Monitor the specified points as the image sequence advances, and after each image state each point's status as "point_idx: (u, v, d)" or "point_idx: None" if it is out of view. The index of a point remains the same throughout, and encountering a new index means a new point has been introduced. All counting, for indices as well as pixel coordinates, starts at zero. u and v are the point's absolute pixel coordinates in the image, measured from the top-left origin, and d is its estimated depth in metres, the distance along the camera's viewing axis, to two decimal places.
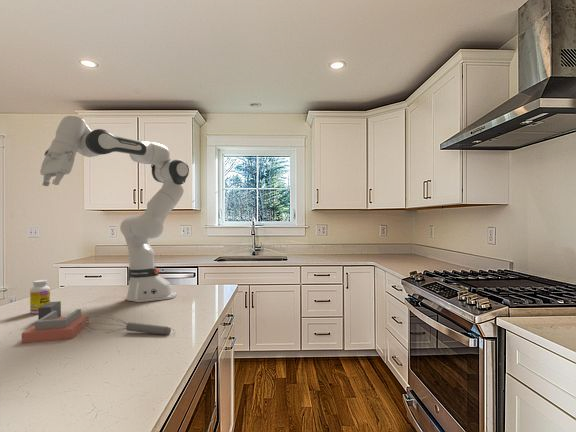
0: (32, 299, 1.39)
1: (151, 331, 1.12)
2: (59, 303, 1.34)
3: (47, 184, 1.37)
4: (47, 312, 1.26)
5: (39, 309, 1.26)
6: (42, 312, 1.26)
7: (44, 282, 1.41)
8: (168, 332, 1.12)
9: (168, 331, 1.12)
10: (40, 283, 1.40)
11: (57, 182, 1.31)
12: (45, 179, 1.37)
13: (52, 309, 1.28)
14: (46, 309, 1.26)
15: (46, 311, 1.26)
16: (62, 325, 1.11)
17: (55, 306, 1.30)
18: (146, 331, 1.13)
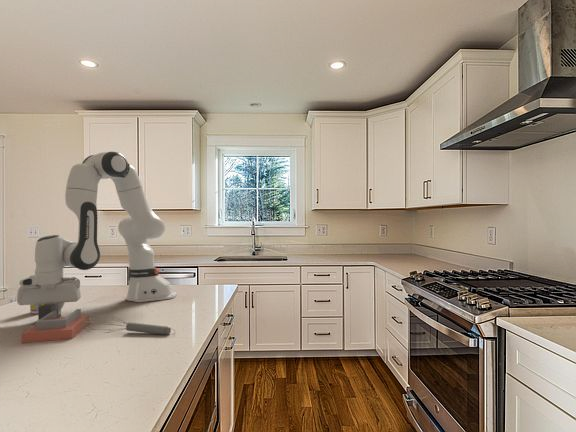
0: None
1: (151, 331, 1.12)
2: None
3: None
4: (47, 312, 1.26)
5: (39, 309, 1.26)
6: (42, 312, 1.26)
7: None
8: (168, 332, 1.12)
9: (168, 331, 1.12)
10: None
11: (60, 311, 1.31)
12: None
13: (52, 309, 1.28)
14: (46, 309, 1.26)
15: (46, 310, 1.26)
16: (62, 325, 1.11)
17: (55, 306, 1.30)
18: (146, 331, 1.12)
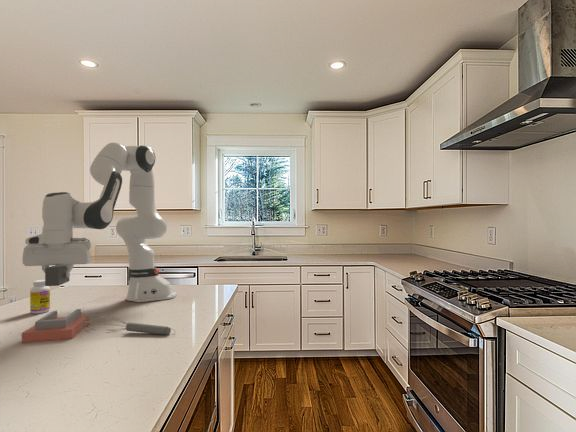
0: (32, 299, 1.39)
1: (151, 331, 1.12)
2: None
3: None
4: (55, 273, 1.16)
5: (46, 269, 1.15)
6: (49, 273, 1.15)
7: (44, 282, 1.41)
8: (168, 332, 1.12)
9: (168, 331, 1.12)
10: (40, 283, 1.40)
11: (69, 274, 1.21)
12: None
13: (60, 270, 1.17)
14: (53, 270, 1.16)
15: (54, 272, 1.16)
16: (62, 325, 1.11)
17: (63, 268, 1.20)
18: (146, 331, 1.12)
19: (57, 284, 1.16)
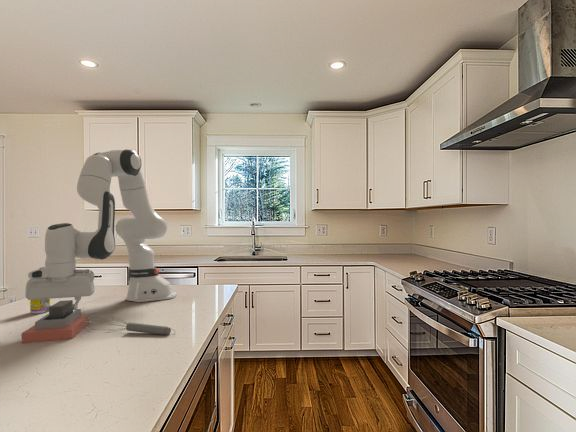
0: None
1: (151, 331, 1.12)
2: (71, 302, 1.23)
3: None
4: (59, 312, 1.15)
5: (50, 308, 1.14)
6: (53, 312, 1.14)
7: None
8: (168, 332, 1.12)
9: (168, 331, 1.12)
10: None
11: (77, 306, 1.20)
12: (45, 304, 1.17)
13: (64, 309, 1.16)
14: (57, 309, 1.15)
15: (58, 310, 1.15)
16: (62, 325, 1.11)
17: (67, 305, 1.19)
18: (146, 331, 1.12)
19: None
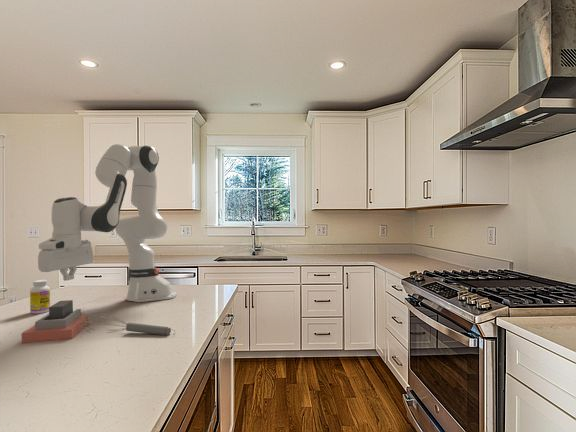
0: (32, 299, 1.39)
1: (151, 331, 1.12)
2: (71, 302, 1.23)
3: None
4: (59, 312, 1.15)
5: (50, 308, 1.14)
6: (53, 312, 1.14)
7: (44, 282, 1.41)
8: (168, 332, 1.12)
9: (168, 331, 1.12)
10: (40, 283, 1.40)
11: None
12: None
13: (64, 309, 1.16)
14: (57, 309, 1.15)
15: (58, 310, 1.15)
16: (62, 325, 1.11)
17: (67, 305, 1.19)
18: (146, 331, 1.12)
19: None
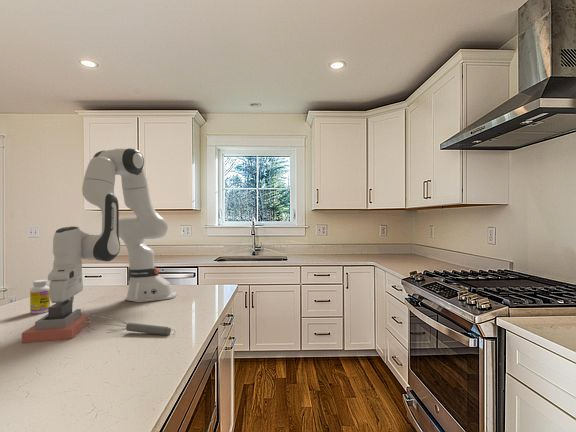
0: (32, 299, 1.39)
1: (151, 331, 1.12)
2: (70, 302, 1.22)
3: None
4: (58, 312, 1.14)
5: (49, 309, 1.14)
6: (52, 312, 1.14)
7: (44, 282, 1.41)
8: (168, 332, 1.12)
9: (168, 331, 1.12)
10: (40, 283, 1.40)
11: None
12: None
13: (63, 309, 1.16)
14: (57, 309, 1.14)
15: (57, 311, 1.14)
16: (62, 325, 1.11)
17: (66, 306, 1.18)
18: (146, 331, 1.12)
19: None
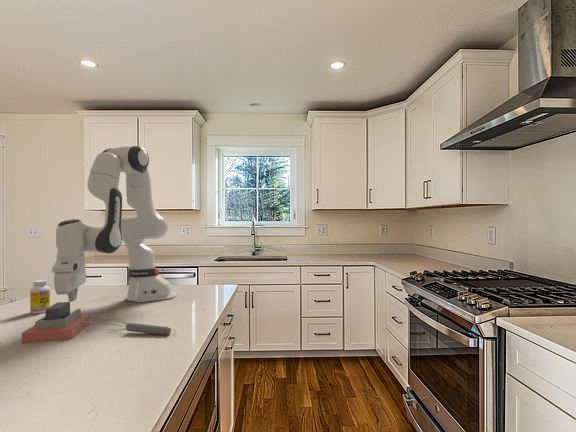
0: (32, 299, 1.39)
1: (151, 331, 1.12)
2: (68, 304, 1.20)
3: None
4: (55, 314, 1.12)
5: (46, 311, 1.12)
6: (50, 314, 1.12)
7: (44, 282, 1.41)
8: (168, 332, 1.12)
9: (168, 331, 1.12)
10: (40, 283, 1.40)
11: None
12: None
13: (61, 311, 1.14)
14: (54, 311, 1.12)
15: (54, 312, 1.12)
16: (62, 325, 1.11)
17: (64, 307, 1.16)
18: (146, 331, 1.12)
19: None
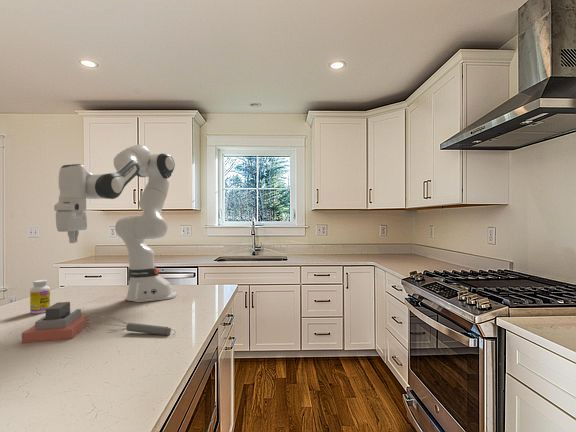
0: (32, 299, 1.39)
1: (151, 331, 1.12)
2: (68, 304, 1.20)
3: None
4: (55, 314, 1.12)
5: (46, 311, 1.12)
6: (50, 314, 1.12)
7: (44, 282, 1.41)
8: (168, 332, 1.12)
9: (168, 331, 1.12)
10: (40, 283, 1.40)
11: None
12: None
13: (61, 311, 1.14)
14: (54, 311, 1.12)
15: (54, 312, 1.12)
16: (62, 325, 1.11)
17: (64, 307, 1.16)
18: (146, 331, 1.12)
19: None
